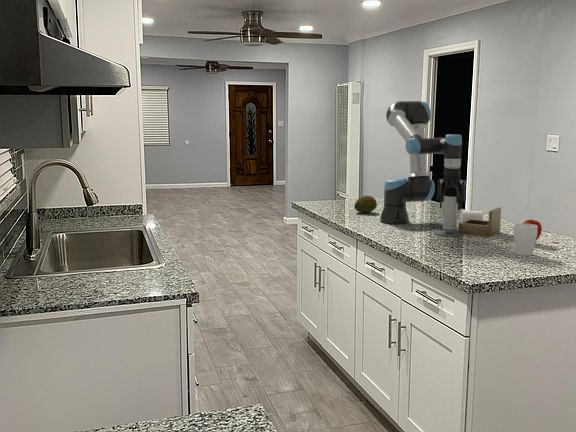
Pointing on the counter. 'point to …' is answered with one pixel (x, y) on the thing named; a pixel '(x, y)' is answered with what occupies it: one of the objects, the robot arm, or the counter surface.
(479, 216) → the mug
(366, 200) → the fruit
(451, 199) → the travel mug
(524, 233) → the cup
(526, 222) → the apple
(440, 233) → the mat
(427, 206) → the counter surface
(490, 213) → the brown wooden open box
